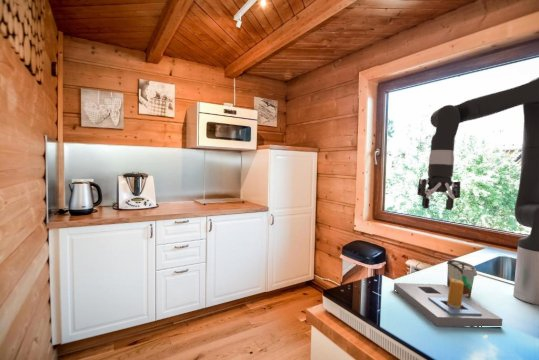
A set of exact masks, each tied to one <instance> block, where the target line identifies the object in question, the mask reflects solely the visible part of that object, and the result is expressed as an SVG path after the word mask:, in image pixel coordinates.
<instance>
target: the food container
mask: <svg viewBox="0 0 539 360" xmlns="http://www.w3.org/2000/svg"><path fill="white" fill-rule="evenodd" d="M446 264H447V273H446V274H447V275H446V276H447V277H446V278H447V280H446V281H447V282H446V286H448V287H449V286H450V280H451V278H453V279H457V280H461V281H463V283H464V286H463V296H465V297H466V298H468V299H470V298H471V296H472V290H473V287H474V286H473V284H474V280H475V277H477V276H478V272H477V269H476V267H475V266H474V265H472V264H471V263H468V262H464V261H460V260H456V259H451V258H448V259H447V262H446Z"/></svg>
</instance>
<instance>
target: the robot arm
mask: <svg viewBox="0 0 539 360" xmlns="http://www.w3.org/2000/svg"><path fill="white" fill-rule="evenodd" d="M518 106H522V114H523V125H522V126H523V129H522V144H521V153H520V154H521V156H520V157H521V159H520V162H521V163H520V173H519V174H520V176H519V184H518V191H517V196H516V201H515V205H514V217H515V218H514V219H515V221H516V222H517V223H518V224H519V225H521V226H522V227H526V228H531V230H530V234H529V235H528V236H525V237H520V238H519V239H518V240H517V251H516V252H517V253H516V262H515V272H514V273H515V275H514V284H513V285H514V286H513V294H512V295H513V296H514V297H515V298H517V299H518V300H520V301H523V302H526V303H530V304H533V305H536V306H539V76H538V77H536V78H534V79H531V81H529V82H527V83H524V84H521V85H517V86H515V87H514V86H513V87H512V88H507V89H505V90H500V91H497V92H492V93H489V94H486V95H481V96H478V97H474V98H470V99H467V100H466V101H463V102H461V103H459V104H456V105H454V104H453V105H452V104H448V105H444V106H442V107H440V108H438V109H437V110H434V112H433V113H432V114H431V117H430V124H431V125H432V126H433V127H434V128H435V133H434V135H433V136H432V138H431V143H430V153H429V158H428V170H427V176H428V177H427V179H426V178H419V180H418V186H417V191H416V192H417V193H416V194H417V196H420V197H421V198H422V200H421V201H422V202H421V205H422V208H423V209H426V210H427V209H429V208H430V197H431V196H432V195H433V194H434V193H443V194H444V195H445V197H446V200H445V201H446V203H445V210H448V211H452V210H453V208H454V201H455V199H460V198H461V181H460V180H453V181H452V178H453V176H454V165H455V164H454V163H455V153H454V152H455V143H456V142H455V140H456V135H457V132H458V130H459V126H460V124H461V123H464V122H467V121H473V120H477V119H481V118H485V117H487V116H492V115H495V114H498V113H501V112H504V111H506V110H509V109H512V108H515V107H518Z"/></svg>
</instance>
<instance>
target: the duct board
mask: <svg viewBox="0 0 539 360" xmlns="http://www.w3.org/2000/svg"><path fill="white" fill-rule="evenodd" d="M394 290H396V291H397V292H398V293H399V294H400V295H401V296H402V297H401V296H400V295H399V294H398V293H397V292H396V291H395V292H396V293H397V294H398V295H399V296H400V297H401V298H402V299H404V300H405V301H406V302H407V303H408V304H409V305H411V306H412V307H413V308H414V309H416V310H417V311H418V312H419V313H420V314H422V316H424V317H425V318H426V319H427V320H429V321H430V322H431V323H432V324H434V326H436V327H440V328H441V327H446V328H447V327H448V328H452V327H451V326H460V327H459V328H465V327H464V326H477V327H479V326H481V327H482V326H502V327H503V318H502V317H500V316H498V315H497V314H495V313H494V312H491V310H489V309H487V308H485V307H483V306H481V305H479V303H476V302H475V301H473V300H471V299H470V298H466V297H465V296H463V295H462V303H461V309H451V308H449V307H448V306H447V301H448V293H449V287H448V286H447V284H435V283H434V284H433V283H410V282H409V283H408V282H394V284H393V291H394ZM449 326H450V327H449ZM461 326H462V327H461Z"/></svg>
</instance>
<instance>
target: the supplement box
mask: <svg viewBox="0 0 539 360" xmlns="http://www.w3.org/2000/svg"><path fill="white" fill-rule="evenodd" d="M463 286H464V283H463V281H461V280H457V279H453V278H451V280H450V286H449V293H448V301H447V306H448V307H449V308H451V309H461V303H462V295H463Z"/></svg>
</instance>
